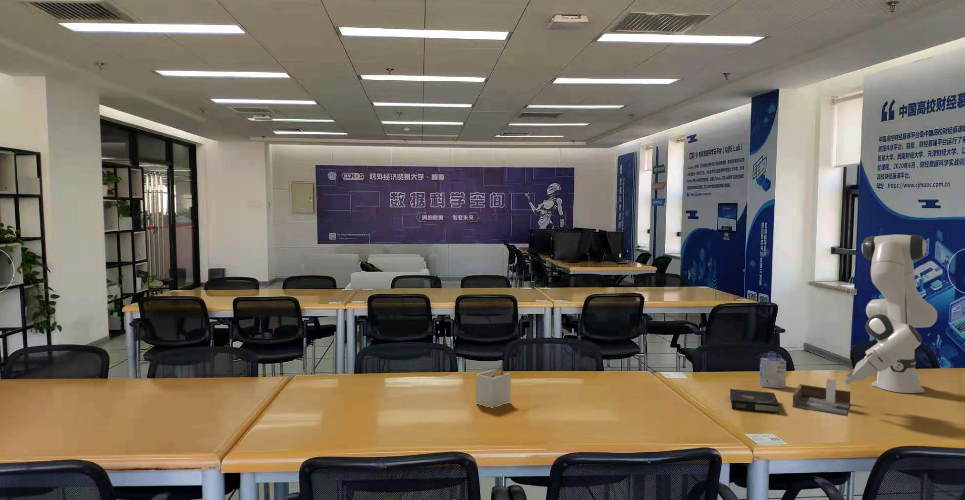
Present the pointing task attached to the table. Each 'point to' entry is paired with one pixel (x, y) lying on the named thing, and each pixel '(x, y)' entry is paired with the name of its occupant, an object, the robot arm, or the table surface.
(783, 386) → the ink cartridge box
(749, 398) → the flat black box
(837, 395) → the corner arena
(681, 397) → the table surface
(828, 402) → the angle bracket
